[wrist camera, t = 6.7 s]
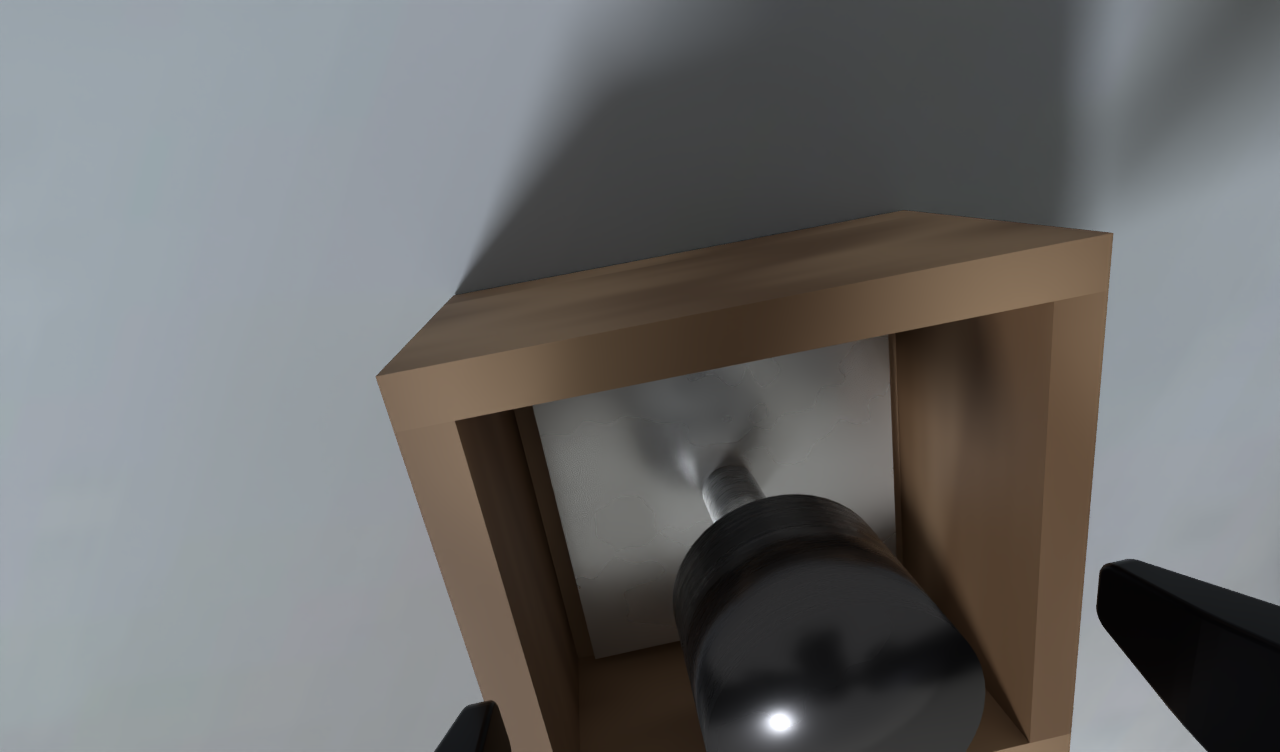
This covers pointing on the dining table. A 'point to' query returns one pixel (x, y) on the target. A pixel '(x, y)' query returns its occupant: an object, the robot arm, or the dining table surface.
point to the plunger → (762, 553)
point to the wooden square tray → (754, 330)
